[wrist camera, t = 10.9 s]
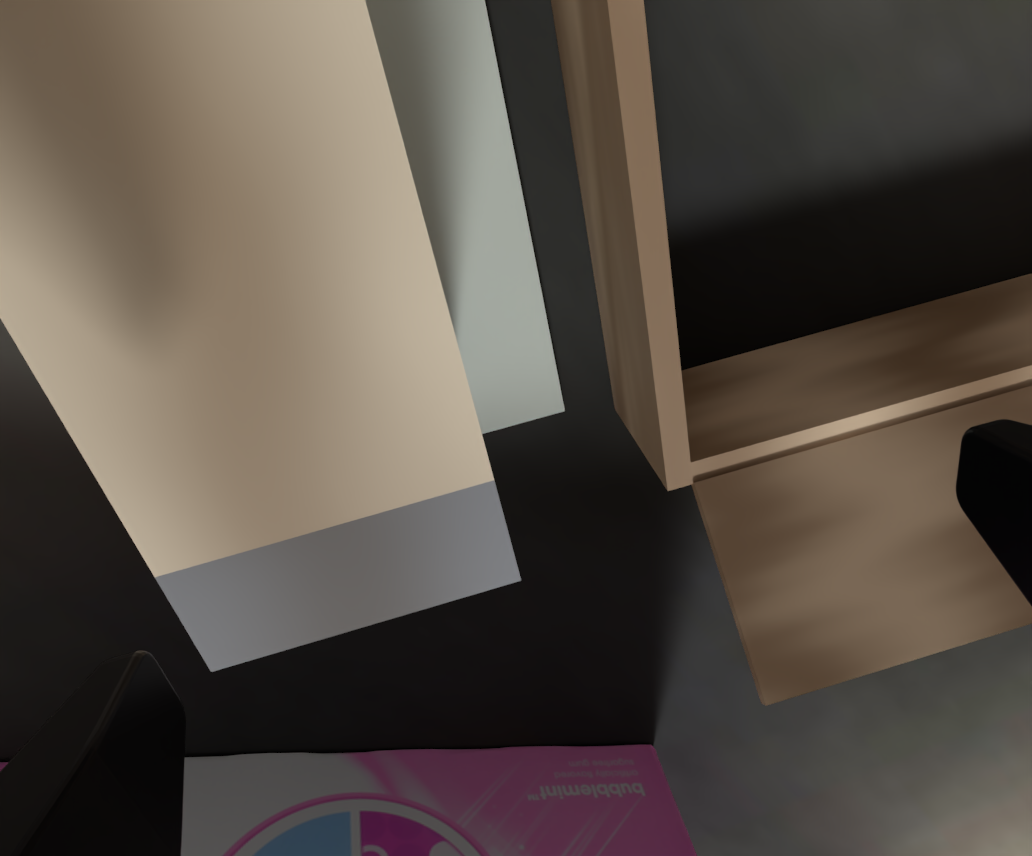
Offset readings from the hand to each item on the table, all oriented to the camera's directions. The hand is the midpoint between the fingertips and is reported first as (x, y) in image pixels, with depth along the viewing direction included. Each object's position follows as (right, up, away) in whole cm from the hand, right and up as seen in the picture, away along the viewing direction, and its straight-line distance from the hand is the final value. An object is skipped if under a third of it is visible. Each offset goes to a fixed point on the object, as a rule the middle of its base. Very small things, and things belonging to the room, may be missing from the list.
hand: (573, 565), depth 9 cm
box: (-5, +6, +8) cm, 12 cm away
